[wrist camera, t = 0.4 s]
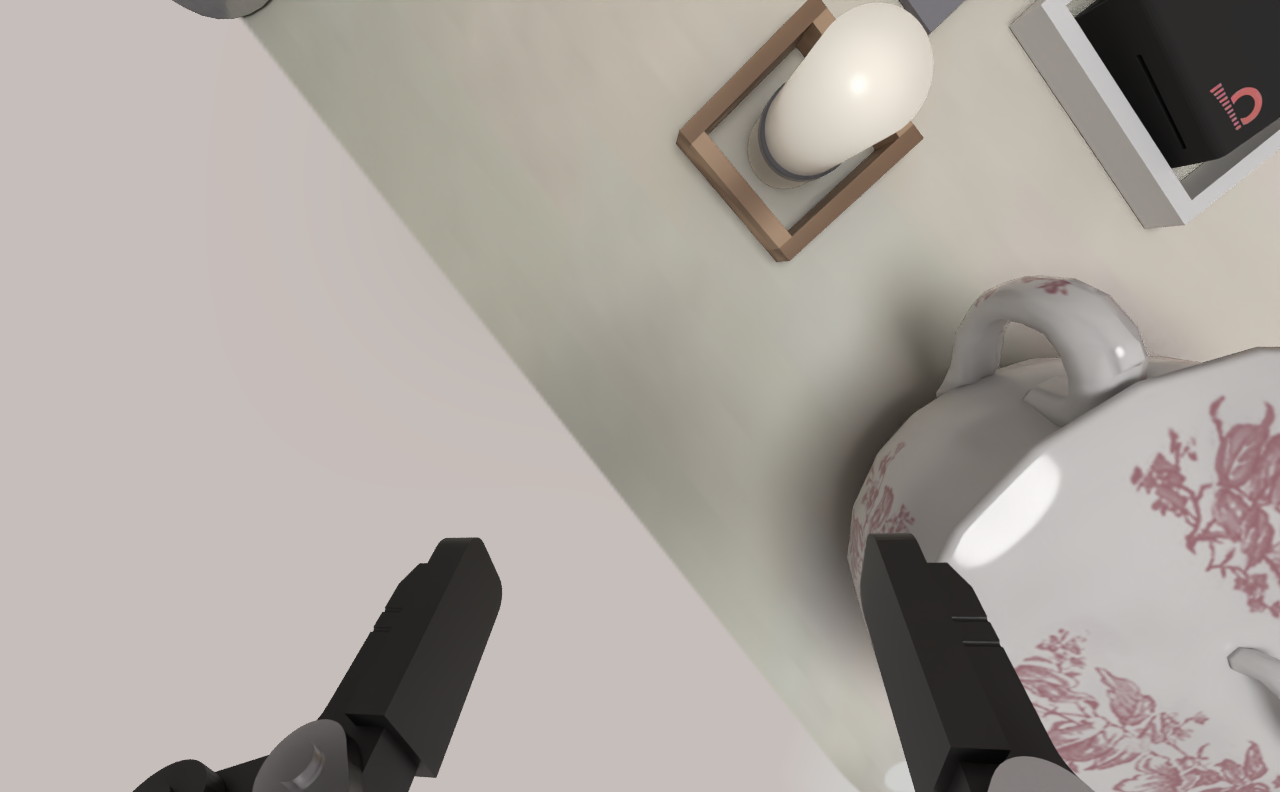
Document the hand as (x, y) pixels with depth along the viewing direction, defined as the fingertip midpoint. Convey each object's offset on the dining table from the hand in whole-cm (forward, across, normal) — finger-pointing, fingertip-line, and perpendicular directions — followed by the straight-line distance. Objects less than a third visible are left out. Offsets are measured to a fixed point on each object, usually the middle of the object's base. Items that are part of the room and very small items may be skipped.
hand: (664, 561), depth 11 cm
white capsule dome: (+29, -6, -4) cm, 30 cm away
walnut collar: (+29, -6, -4) cm, 30 cm away
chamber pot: (+23, -19, +21) cm, 37 cm away
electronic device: (+34, -29, -5) cm, 45 cm away
